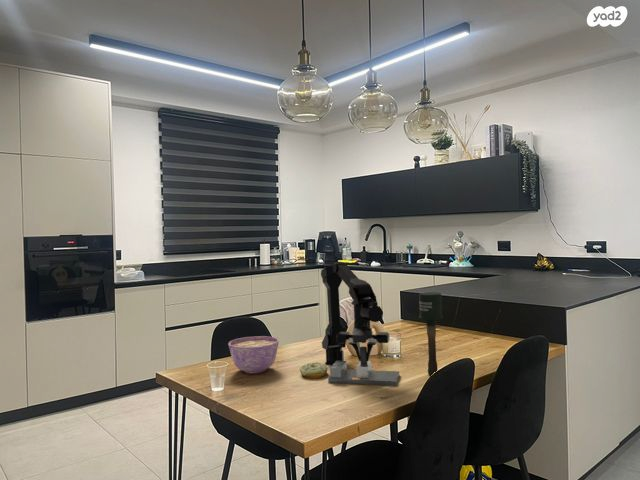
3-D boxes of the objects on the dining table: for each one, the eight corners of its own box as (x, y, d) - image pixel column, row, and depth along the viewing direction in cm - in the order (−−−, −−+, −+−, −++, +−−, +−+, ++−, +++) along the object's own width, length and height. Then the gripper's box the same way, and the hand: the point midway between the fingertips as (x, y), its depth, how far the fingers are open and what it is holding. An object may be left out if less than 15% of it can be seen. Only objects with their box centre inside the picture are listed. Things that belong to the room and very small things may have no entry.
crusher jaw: (356, 377, 168) (355, 349, 168) (360, 371, 176) (359, 344, 176) (368, 378, 167) (366, 350, 167) (371, 371, 175) (370, 344, 175)
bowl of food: (219, 376, 183) (218, 346, 182) (245, 362, 201) (244, 335, 201) (266, 379, 176) (264, 348, 176) (288, 365, 195) (287, 337, 194)
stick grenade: (418, 372, 177) (415, 292, 177) (440, 371, 178) (437, 291, 178) (425, 379, 169) (421, 295, 168) (448, 377, 169) (445, 294, 169)
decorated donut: (300, 380, 174) (300, 370, 174) (299, 371, 185) (299, 362, 185) (328, 378, 175) (328, 368, 175) (326, 370, 186) (325, 360, 186)
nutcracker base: (328, 382, 169) (327, 368, 169) (336, 372, 181) (335, 359, 181) (395, 385, 163) (395, 371, 163) (399, 375, 174) (398, 361, 174)
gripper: (331, 322, 166) (333, 366, 166) (385, 322, 161) (386, 367, 162) (338, 316, 177) (340, 358, 177) (388, 316, 172) (390, 359, 172)
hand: (363, 360), depth 172 cm, fingers closed on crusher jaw, 2 cm apart
